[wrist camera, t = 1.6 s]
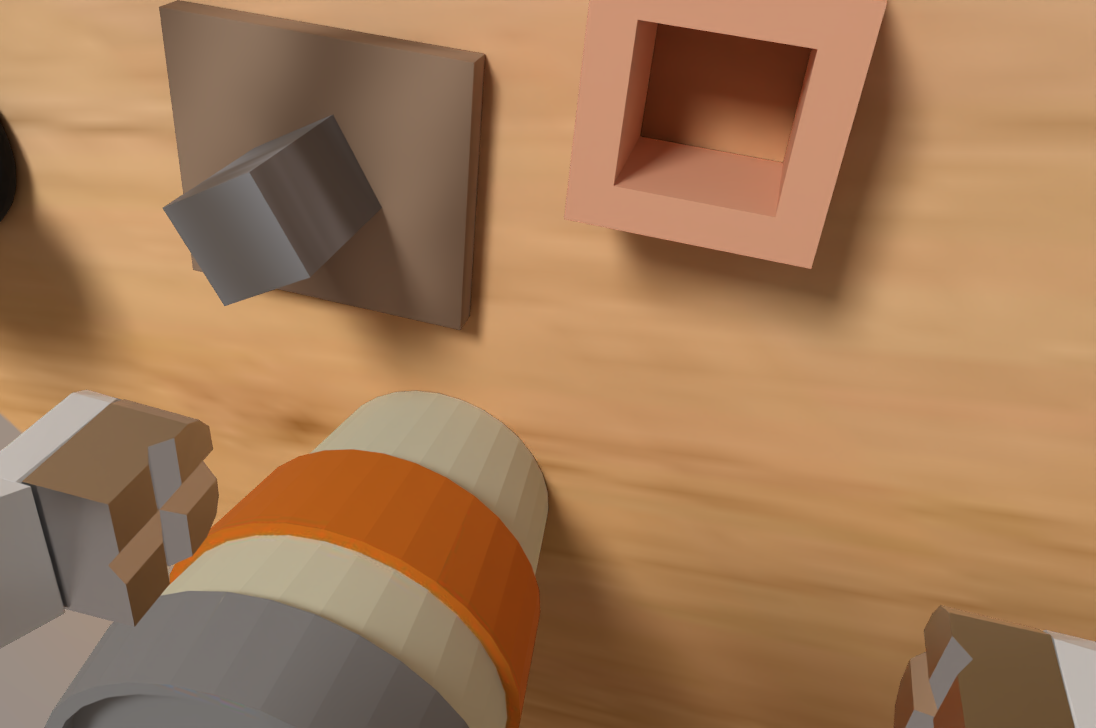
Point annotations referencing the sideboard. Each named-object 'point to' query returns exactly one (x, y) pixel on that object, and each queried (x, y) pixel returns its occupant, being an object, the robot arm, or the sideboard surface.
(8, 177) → the webcam
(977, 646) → the robot arm
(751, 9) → the pink square socket block
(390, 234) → the base
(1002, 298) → the sideboard surface
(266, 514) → the reusable coffee cup
